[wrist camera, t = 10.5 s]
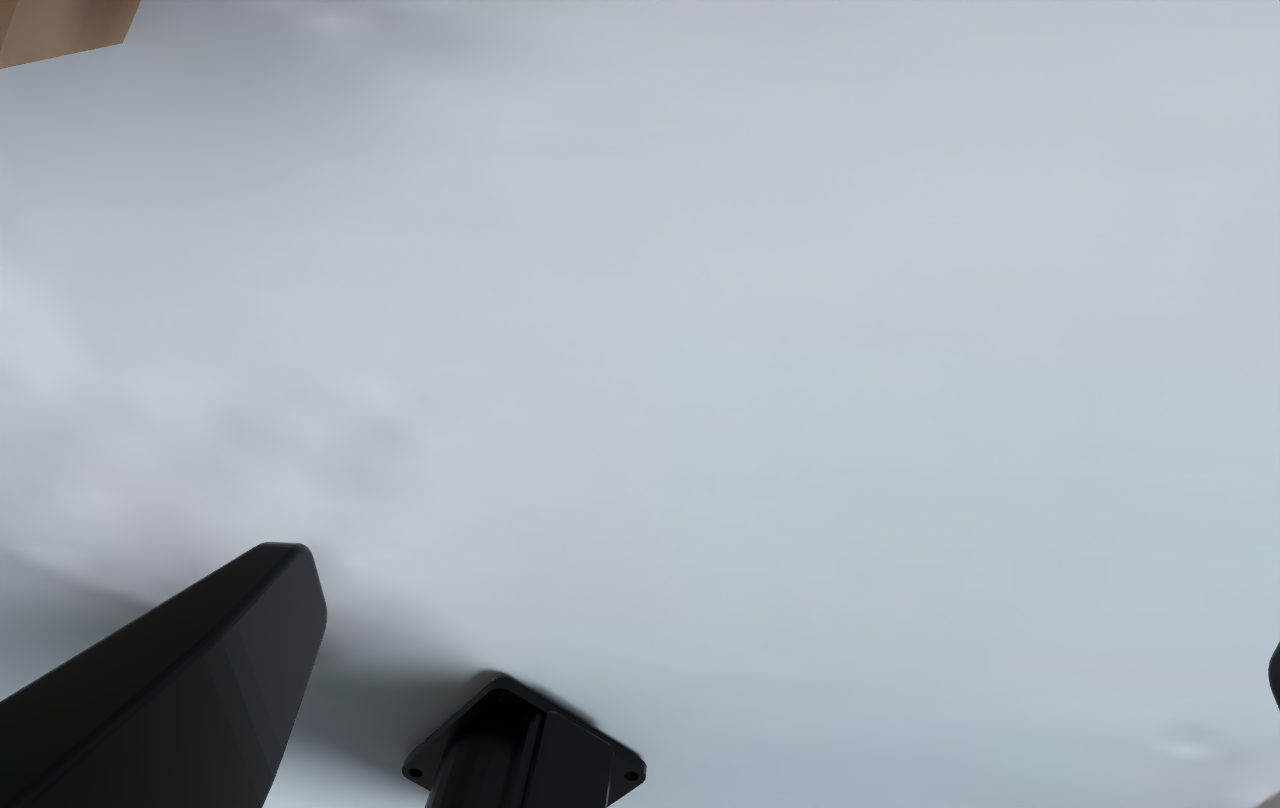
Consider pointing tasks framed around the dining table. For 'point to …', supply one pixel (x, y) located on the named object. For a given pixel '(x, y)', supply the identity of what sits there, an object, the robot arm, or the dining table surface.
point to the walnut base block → (60, 27)
